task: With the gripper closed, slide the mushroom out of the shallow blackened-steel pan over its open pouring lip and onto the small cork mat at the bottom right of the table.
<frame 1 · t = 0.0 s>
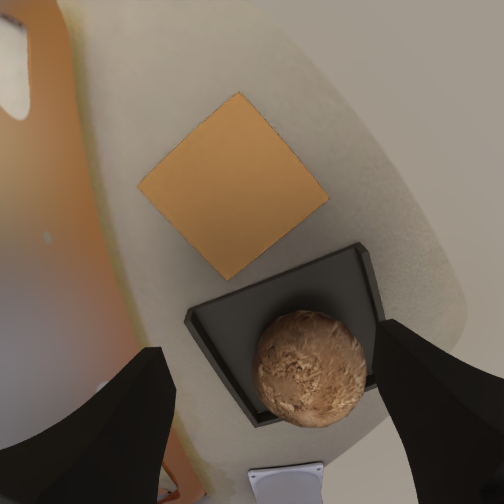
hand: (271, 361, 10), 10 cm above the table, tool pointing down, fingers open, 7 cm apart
pan: (300, 341, 22), on the table
mushroom: (300, 343, 22), resting on pan
mat: (232, 189, 18), on the table
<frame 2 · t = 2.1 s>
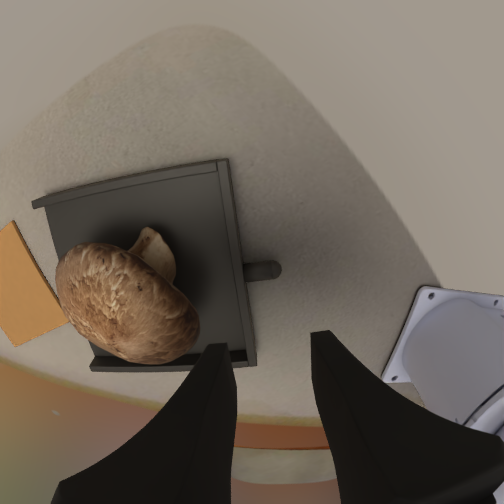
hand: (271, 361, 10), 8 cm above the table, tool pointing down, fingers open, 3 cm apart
pan: (143, 277, 18), on the table
mushroom: (142, 278, 18), resting on pan
mat: (12, 290, 19), on the table
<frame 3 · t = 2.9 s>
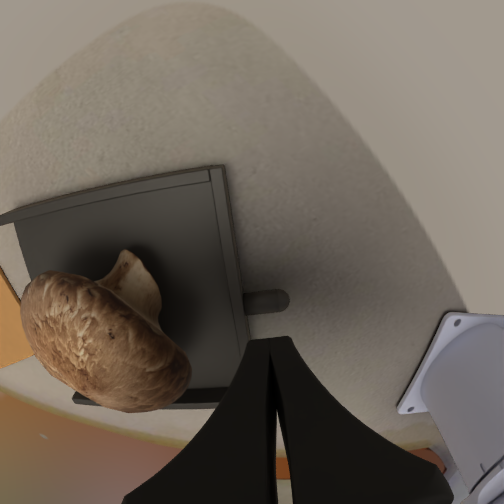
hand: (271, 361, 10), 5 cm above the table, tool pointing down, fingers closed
pan: (126, 304, 15), on the table
mushroom: (125, 306, 15), resting on pan
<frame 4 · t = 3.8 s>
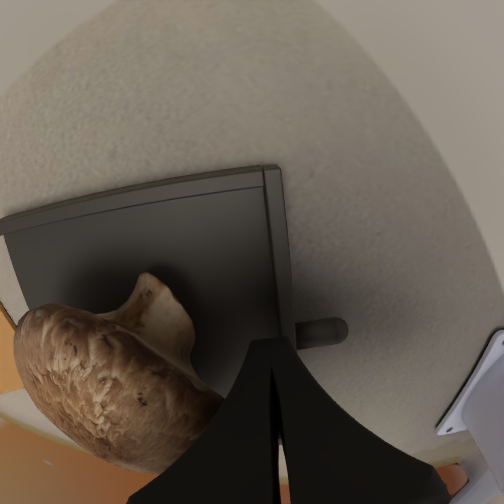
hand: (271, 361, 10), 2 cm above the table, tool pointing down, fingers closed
pan: (144, 334, 12), on the table
mushroom: (143, 337, 12), resting on pan, touching gripper
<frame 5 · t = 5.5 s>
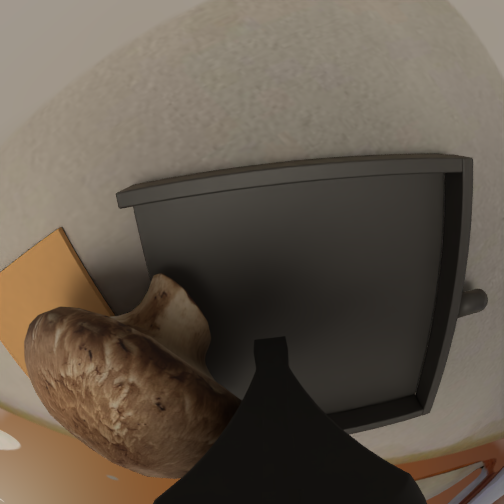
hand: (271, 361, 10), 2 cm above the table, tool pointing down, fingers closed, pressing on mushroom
pan: (307, 319, 12), on the table
mushroom: (156, 339, 12), on the table, touching gripper
mat: (54, 337, 13), on the table
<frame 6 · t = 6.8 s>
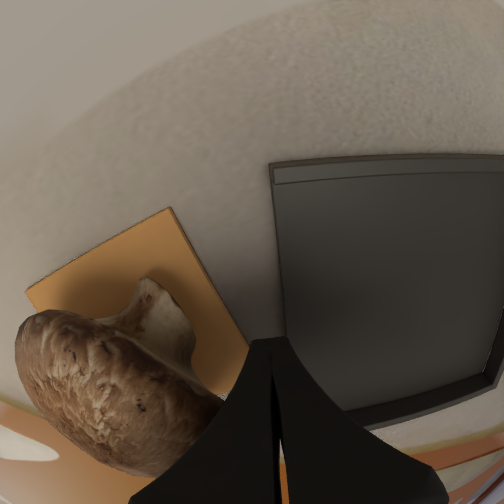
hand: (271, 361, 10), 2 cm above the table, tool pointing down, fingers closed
pan: (414, 302, 12), on the table
mushroom: (145, 341, 12), resting on mat, touching gripper
mat: (137, 336, 12), on the table
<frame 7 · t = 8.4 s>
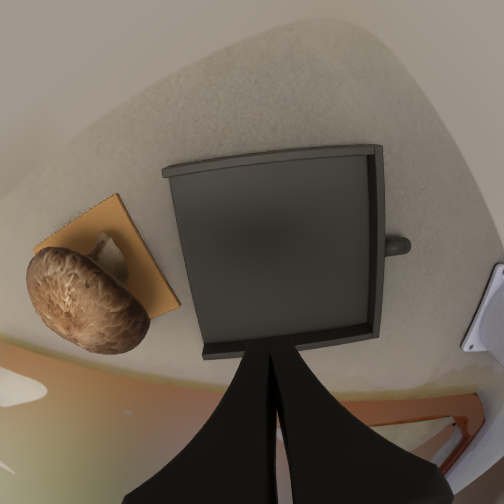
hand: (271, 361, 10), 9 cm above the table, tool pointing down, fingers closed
pan: (279, 254, 19), on the table
mushroom: (105, 278, 19), resting on mat
mat: (101, 275, 19), on the table
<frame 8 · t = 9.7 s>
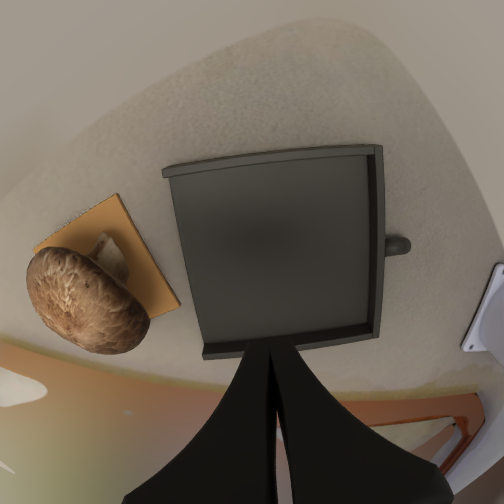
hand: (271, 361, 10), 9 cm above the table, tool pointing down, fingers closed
pan: (279, 254, 19), on the table
mushroom: (105, 278, 19), resting on mat
mat: (101, 275, 19), on the table
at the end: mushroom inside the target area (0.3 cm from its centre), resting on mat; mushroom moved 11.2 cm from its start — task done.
